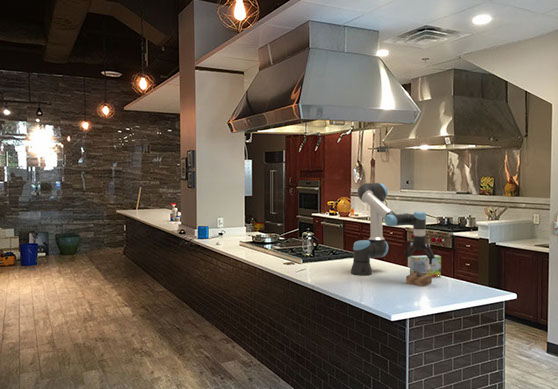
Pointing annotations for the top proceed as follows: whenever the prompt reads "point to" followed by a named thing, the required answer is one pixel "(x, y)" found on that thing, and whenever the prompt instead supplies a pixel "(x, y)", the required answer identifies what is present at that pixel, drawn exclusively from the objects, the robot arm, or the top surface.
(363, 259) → the robot arm
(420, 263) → the cap
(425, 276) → the block
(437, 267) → the snack box
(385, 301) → the top surface
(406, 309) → the top surface
